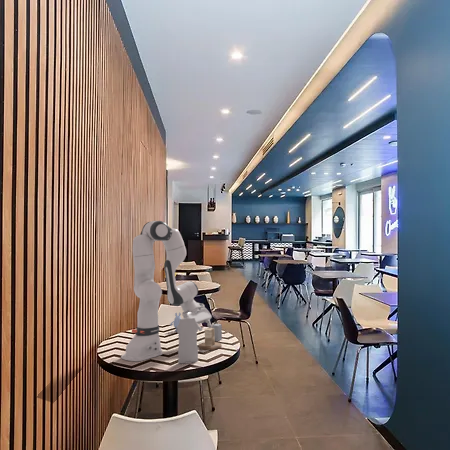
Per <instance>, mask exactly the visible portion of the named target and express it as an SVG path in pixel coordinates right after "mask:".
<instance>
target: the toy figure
mask: <svg viewBox="0 0 450 450" xmlns="http://www.w3.org/2000/svg"><path fill="white" fill-rule="evenodd" d="M181 315H182V314H181V312H179V313H177V312H175V314H174V316H175V318H174V319H173V321H172V322H170V323H169V326H170V327H171V326H173V327H174V328H175V329H174V332H177V326H178V325H179V321H180V319H182V317H181Z"/></svg>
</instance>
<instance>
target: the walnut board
mask: <svg viewBox="0 0 450 450" xmlns="http://www.w3.org/2000/svg"><path fill="white" fill-rule="evenodd" d="M197 346H198V350H202V351H214V350H216V351H217V350H218V349H221V348H222V343H220V342H219V341H215V345H213V346H205V341H204V342H201V343H199V344H197Z"/></svg>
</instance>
